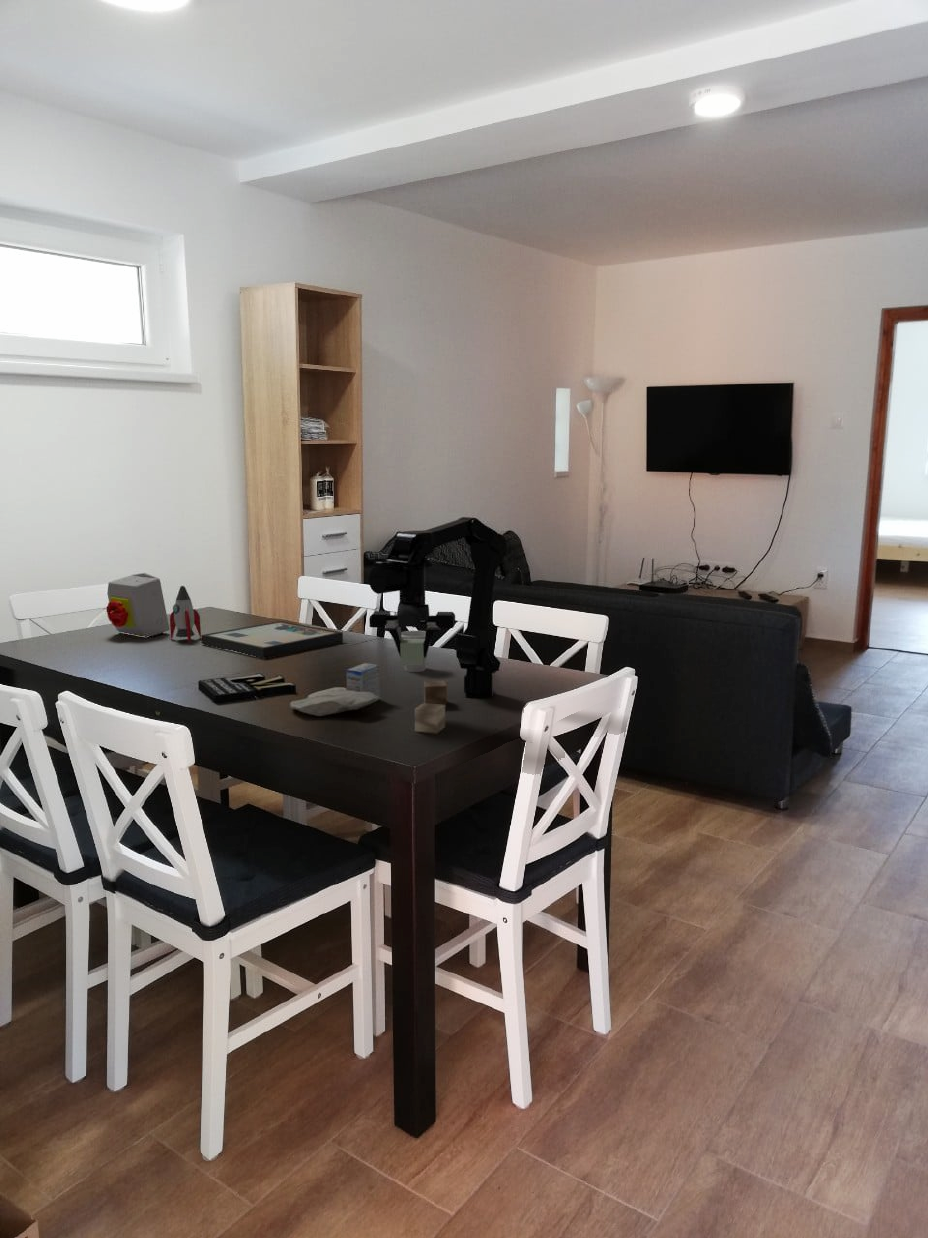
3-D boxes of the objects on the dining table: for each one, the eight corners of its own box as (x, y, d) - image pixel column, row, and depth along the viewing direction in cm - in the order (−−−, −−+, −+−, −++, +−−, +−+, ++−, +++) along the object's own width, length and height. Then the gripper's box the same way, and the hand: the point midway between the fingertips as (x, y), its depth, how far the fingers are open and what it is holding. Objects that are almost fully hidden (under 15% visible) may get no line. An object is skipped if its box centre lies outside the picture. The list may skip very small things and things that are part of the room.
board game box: (342, 632, 290) (263, 648, 267) (343, 644, 291) (263, 661, 268) (280, 621, 310) (201, 635, 287) (280, 632, 310) (202, 647, 288)
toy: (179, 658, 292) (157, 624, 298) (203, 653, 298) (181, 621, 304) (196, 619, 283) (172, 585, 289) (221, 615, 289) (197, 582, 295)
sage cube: (425, 660, 214) (425, 638, 213) (423, 665, 209) (422, 643, 208) (403, 660, 214) (403, 638, 213) (400, 665, 209) (400, 643, 208)
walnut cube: (444, 701, 224) (444, 680, 223) (446, 706, 219) (446, 685, 218) (423, 701, 223) (423, 681, 222) (425, 707, 218) (425, 686, 218)
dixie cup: (397, 666, 258) (397, 631, 257) (427, 665, 260) (427, 629, 258) (402, 673, 250) (401, 637, 249) (432, 672, 252) (432, 635, 250)
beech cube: (445, 727, 203) (444, 705, 202) (436, 733, 198) (436, 711, 197) (423, 725, 205) (423, 703, 204) (414, 731, 200) (414, 709, 199)
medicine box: (364, 697, 227) (363, 662, 225) (380, 699, 225) (379, 664, 223) (346, 705, 220) (345, 669, 218) (362, 708, 218) (362, 671, 216)
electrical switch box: (103, 642, 302) (90, 583, 296) (142, 628, 313) (130, 571, 307) (131, 648, 293) (118, 587, 287) (170, 633, 305) (159, 574, 299)
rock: (330, 730, 202) (384, 710, 212) (327, 709, 202) (381, 690, 211) (277, 717, 218) (329, 699, 228) (273, 698, 217) (326, 680, 227)
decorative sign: (197, 680, 236) (274, 671, 245) (198, 690, 236) (274, 680, 246) (215, 695, 221) (296, 685, 231) (216, 706, 222) (297, 695, 231)
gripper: (364, 593, 201) (365, 664, 204) (450, 594, 200) (451, 666, 203) (373, 586, 212) (374, 653, 215) (455, 586, 211) (455, 654, 214)
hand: (413, 657), depth 211 cm, fingers closed on sage cube, 5 cm apart
